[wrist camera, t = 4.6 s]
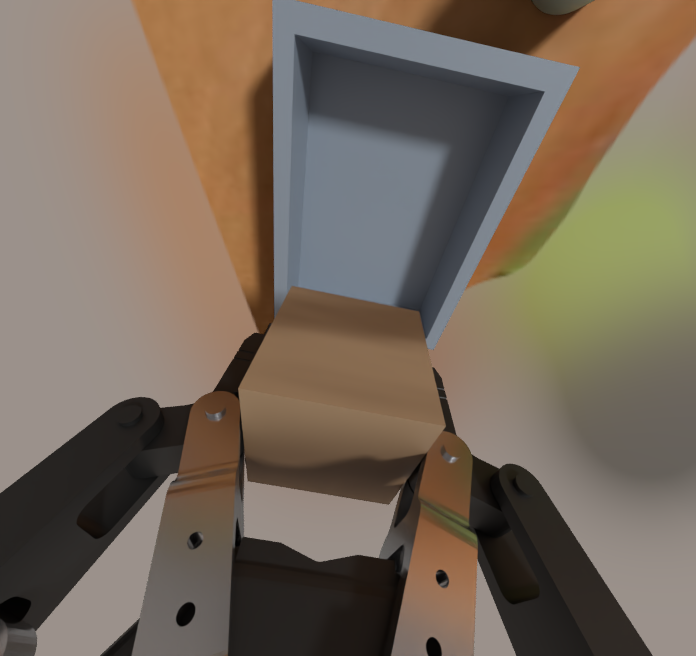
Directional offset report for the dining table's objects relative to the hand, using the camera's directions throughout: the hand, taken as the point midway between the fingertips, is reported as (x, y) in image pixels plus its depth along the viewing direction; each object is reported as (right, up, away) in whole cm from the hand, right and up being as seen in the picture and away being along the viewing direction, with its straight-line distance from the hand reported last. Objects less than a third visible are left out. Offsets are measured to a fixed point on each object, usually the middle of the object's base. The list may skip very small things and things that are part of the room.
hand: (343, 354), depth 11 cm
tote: (+3, +10, +10) cm, 15 cm away
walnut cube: (0, 0, 0) cm, 0 cm away
